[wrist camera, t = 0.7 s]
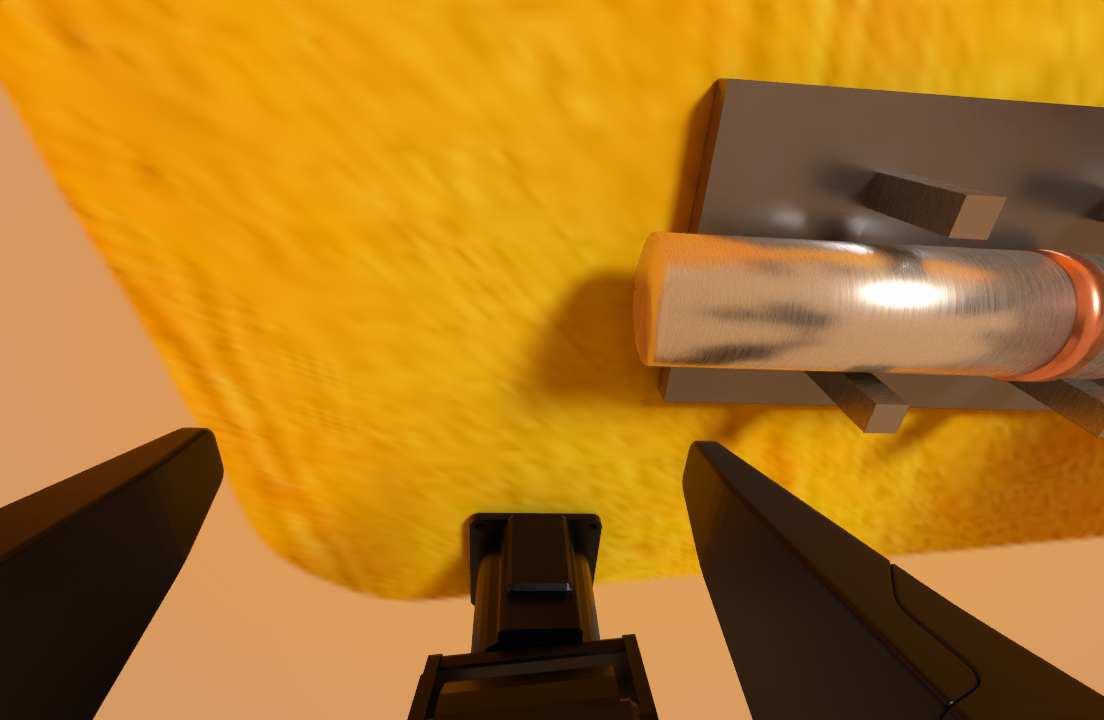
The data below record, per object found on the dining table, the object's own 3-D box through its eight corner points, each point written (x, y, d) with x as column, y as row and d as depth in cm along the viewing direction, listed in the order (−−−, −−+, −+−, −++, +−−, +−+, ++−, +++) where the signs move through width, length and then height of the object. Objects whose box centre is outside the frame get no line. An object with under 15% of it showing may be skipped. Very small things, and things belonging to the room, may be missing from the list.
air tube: (1005, 343, 22) (1112, 409, 18) (627, 329, 20) (653, 398, 16) (1069, 235, 19) (1211, 284, 15) (646, 212, 18) (681, 259, 14)
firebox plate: (1074, 399, 24) (1196, 470, 20) (658, 388, 23) (692, 462, 18) (1254, 120, 19) (1481, 131, 14) (717, 78, 17) (786, 78, 13)
